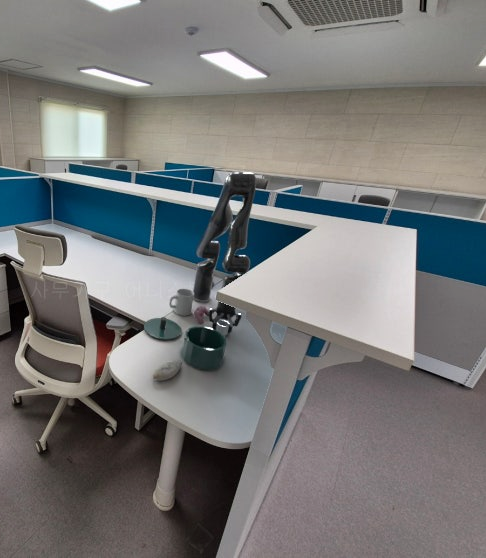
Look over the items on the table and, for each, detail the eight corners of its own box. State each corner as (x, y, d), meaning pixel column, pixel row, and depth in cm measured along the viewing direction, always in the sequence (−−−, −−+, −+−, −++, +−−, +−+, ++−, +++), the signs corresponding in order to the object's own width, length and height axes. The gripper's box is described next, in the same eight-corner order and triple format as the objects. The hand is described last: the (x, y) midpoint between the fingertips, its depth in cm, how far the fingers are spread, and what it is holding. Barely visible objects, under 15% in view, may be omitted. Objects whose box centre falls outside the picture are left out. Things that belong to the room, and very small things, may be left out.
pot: (183, 341, 130) (186, 323, 126) (221, 349, 126) (225, 330, 122) (180, 365, 116) (183, 345, 113) (222, 374, 113) (227, 353, 109)
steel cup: (214, 327, 141) (216, 318, 139) (227, 330, 140) (229, 320, 138) (214, 334, 136) (216, 325, 134) (227, 336, 135) (229, 327, 133)
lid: (147, 317, 147) (148, 306, 145) (182, 323, 143) (184, 312, 141) (140, 336, 133) (141, 324, 130) (179, 344, 129) (181, 332, 126)
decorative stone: (186, 368, 115) (187, 361, 114) (160, 387, 105) (161, 380, 104) (173, 360, 119) (174, 353, 118) (147, 378, 109) (148, 370, 108)
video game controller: (203, 316, 153) (199, 303, 152) (211, 316, 149) (208, 303, 149) (194, 324, 146) (190, 311, 145) (203, 324, 142) (199, 310, 142)
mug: (186, 306, 158) (189, 288, 154) (193, 315, 151) (197, 295, 146) (165, 308, 156) (167, 289, 151) (171, 317, 148) (174, 297, 144)
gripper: (245, 297, 132) (237, 329, 139) (211, 292, 136) (205, 323, 143) (246, 305, 126) (238, 338, 133) (211, 299, 129) (204, 332, 136)
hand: (221, 330), depth 138 cm, fingers closed on steel cup, 5 cm apart
